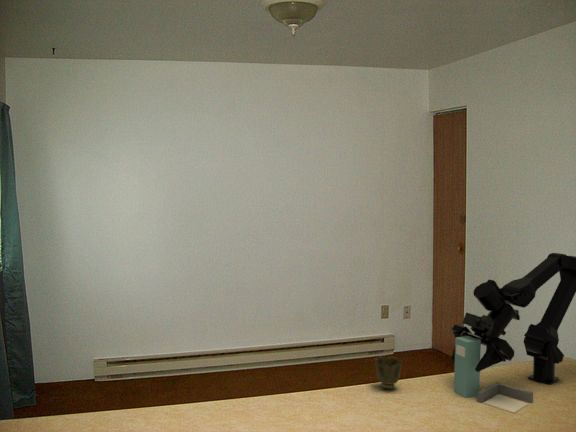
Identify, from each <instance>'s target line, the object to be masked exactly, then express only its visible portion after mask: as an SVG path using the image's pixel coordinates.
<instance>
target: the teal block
mask: <svg viewBox="0 0 576 432" xmlns="http://www.w3.org/2000/svg"><path fill="white" fill-rule="evenodd" d="M454 339H455V340H454V342H455V343H454V347H455V361H454V375H453V376H454V377H453V378H454V381H453V382H454V383H453V392H454V393H455V394H457V395H459V396H461V397H463V398H465V399H468V398H473V397H477V392H478V391H480V383H481V382H480V380H481V379H480V378H481V376H480V375H481V371H479V372H477V371H476V370H475V368H476V366H477V364H478V363H479V361H480V360H481V347H482V344H481V340H478V339H476V338H473V337H470V336H465V337H457V338H455V337H454Z"/></svg>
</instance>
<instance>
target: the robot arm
mask: <svg viewBox="0 0 576 432" xmlns="http://www.w3.org/2000/svg"><path fill="white" fill-rule="evenodd" d="M558 273H559V282H558V285H557V286H556V288H555V290H554V293H553V295H552V297H551V299H550V301H549V302H548V305H547V307H546V309H545V311H544V313H543V315H542V318H540V319H541V320H540V321H539V322H538V323H536V324H533V323H530V324H529V325H528V328H527V330H526V332H525V333H524V335H523V336H524V338H523V345H524V349H525V351H526V355H527V356H530V357H532V358H533V360H532V361H533V362H532V374H531V375H529V376H527V378H528V380H532V381H536V382H540V383H544V384H548V385H552V384H554V383H556V382H557V381H559V380H560V377H559V376H558V377H557V376H556V375H555V374H556V373H555V372H556V364H560V363H562V362H563V359H564V357H565V355H564V353H563V351H561V350H560V348H559V347H558V345H559V341H560V339H559V334H558V333H559V332H558V330H559V328H560V326H561V323H562V321H563V320H564V317H565V315H566V313H567V311H568V309H569V308H570V305H571V303H572V301H573V299H574V296H575V295H576V256H575V255H567V254H565V253H559V252H552V253H549V254H548V255H547V257H546V258H545V259H543V261H541V262H540V263H539V264H538V265H537V266H535V267H534V268H533V269H532V270H530V271H529V272H528V273H527V274H526V275H524V276H523V277H521V278H517V279H513V280H511V281H509V282H508V283H506V284H505V285H503V286H502V287H499V285H498V284H497V282H496V281H495V280H493V279H488V280H487V281H485V282H482V283H480V284H479V285H476V286H475V288H474V289H473V296H474V298H476V300H477V301H478V303H480V305H481V306H482V307H483V308H484V309H485V310H486V311H489V312H488V314H486V315H485V314H482V316H479V315H476V314H472V313H469V312H465V314H464V317H463V320H462V322H461V323H462V324H464V325H462V324H460V323H459V324H458V323H457V324H454V325H453V327H452V328H451V330H450V331H451V332H452V335H453V336H454V339H455V338H457V337H465V336H470V337H473V338H476V339H478V340H481V346H485V353H484V354H483V356H482V357H480V361H479V363H478V364H477V366H476V368H475V370H476V371H477V372H479V371H480V372H481V371H483V370H486V369H487V368H489V367H492V366H494V365H497V364H498V363H501V362H507V361H509V362H511V361H512V359H514V357H515V349H513V347H512V346H511V345H510V344H509V343H508V341H507V340H506V339H502V338H500V336H505V335H506V334H507V332H506V328H507V327H508V326H509V324H510V323H511V321H512V320H516V321H520V319H521V316H520V311H519V309H515V308H514V307H519V308H523V309H524V308H526V307H528V306H529V305H530V304H531V303H532V302H533V300H534V299H535V298H536V293H537V291H538V289H541V287H542V286H543V285H545V284H546V283H547V282H548V281H550V280H551V279H552V278H553V277H554V276H555V275H556V274H558ZM513 306H514V307H513ZM466 325H467V326H469V327H470V329H469V328H468V327H467V326H466ZM472 332H473V333H472ZM450 358H451V362H455V346H453V350H452V354H451V357H450Z"/></svg>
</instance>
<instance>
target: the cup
mask: <svg viewBox="0 0 576 432" xmlns="http://www.w3.org/2000/svg"><path fill="white" fill-rule="evenodd" d="M402 366H403V361H402V360H400V358H397V357H396V356H393V357H392V356H388V358H384V356H381V355H379V356H378V358H377V357H375V359H374V367H375V374H376V379H377V380H378V381H379V382H380V383H381V384H380V385H381V386H380V387H381V388H382V389H383V390H385V391H390V390H394V389H395V386H396V385H395V384H396V383H398V382H399V380H400V377H401V371H402Z"/></svg>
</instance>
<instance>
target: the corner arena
mask: <svg viewBox="0 0 576 432" xmlns="http://www.w3.org/2000/svg"><path fill="white" fill-rule="evenodd" d="M498 393H500V394H498ZM496 394H497V395H496ZM502 394H503V395H502ZM513 398H514V399H513ZM476 402H478V403H481V404H482V403H483V404H484V405H487V406H490V407H493V408H496V409H498V410H499V409H500V410H502V411H505V412H508V413H512V414H516V413H517V412H519V411H521V410H522V409H524V408H526V407H527V406H529V403H530V404H532V403H534V392H533V391H530V390H526V389H523V388H522V389H521V388H520V387H516V386H511V385H509V384H505V383H501V382H497V381H496V382H494V383H492V384H490V385H488V386H486V387H484V388H483V389H479V391H478V392H477V396H476Z"/></svg>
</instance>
